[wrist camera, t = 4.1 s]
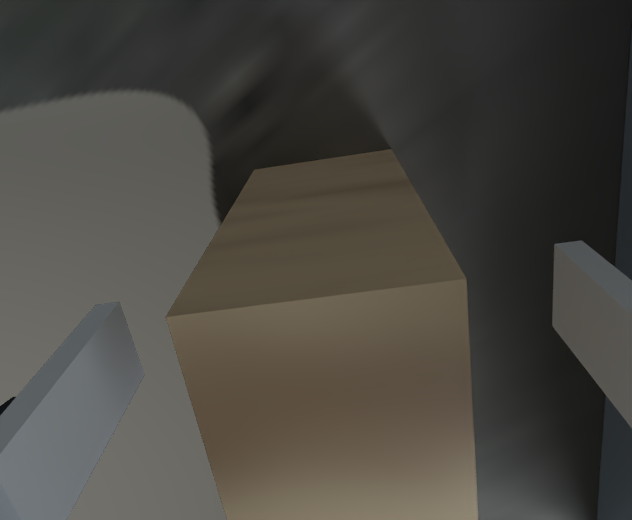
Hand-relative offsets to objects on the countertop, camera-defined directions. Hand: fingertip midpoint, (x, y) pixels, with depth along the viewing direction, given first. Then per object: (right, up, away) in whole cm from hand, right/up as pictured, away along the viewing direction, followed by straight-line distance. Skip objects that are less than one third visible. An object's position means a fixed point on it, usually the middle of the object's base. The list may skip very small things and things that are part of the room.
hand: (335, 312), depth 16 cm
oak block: (0, +2, +4) cm, 5 cm away
